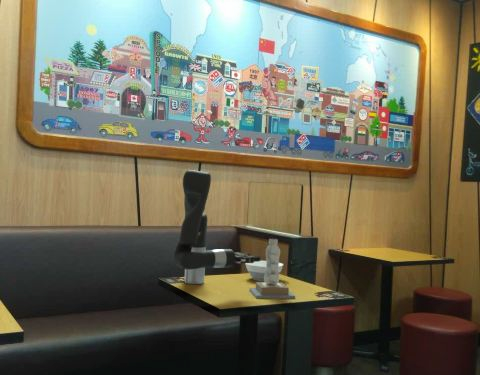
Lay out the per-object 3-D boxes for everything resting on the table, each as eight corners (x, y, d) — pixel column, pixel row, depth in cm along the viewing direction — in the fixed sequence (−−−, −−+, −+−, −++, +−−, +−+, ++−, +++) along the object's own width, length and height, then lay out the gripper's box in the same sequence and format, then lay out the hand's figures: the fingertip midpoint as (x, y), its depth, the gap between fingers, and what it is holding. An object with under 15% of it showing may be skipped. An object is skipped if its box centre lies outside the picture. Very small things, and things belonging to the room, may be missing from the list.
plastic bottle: (269, 282, 229) (271, 238, 229) (281, 284, 224) (283, 239, 224) (260, 284, 224) (262, 238, 224) (273, 286, 219) (275, 240, 219)
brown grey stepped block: (256, 298, 215) (256, 288, 215) (249, 290, 230) (249, 280, 230) (295, 298, 218) (295, 288, 218) (285, 290, 233) (286, 281, 233)
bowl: (268, 285, 246) (269, 268, 246) (236, 279, 257) (237, 262, 257) (289, 280, 261) (290, 264, 261) (258, 274, 273) (259, 259, 273)
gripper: (230, 251, 205) (263, 250, 213) (214, 247, 217) (246, 246, 226) (229, 270, 205) (263, 268, 213) (213, 264, 217) (245, 263, 226)
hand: (254, 257), depth 219 cm, fingers open, 8 cm apart
